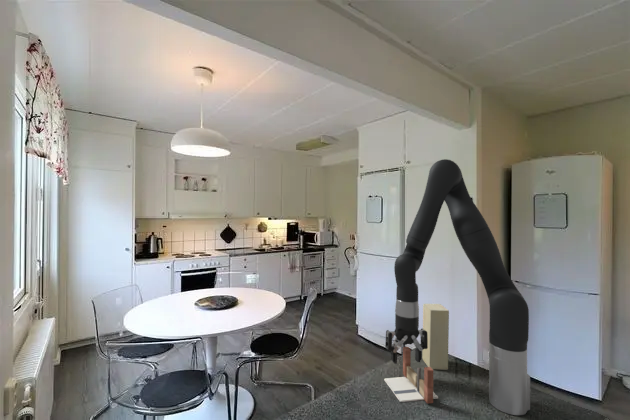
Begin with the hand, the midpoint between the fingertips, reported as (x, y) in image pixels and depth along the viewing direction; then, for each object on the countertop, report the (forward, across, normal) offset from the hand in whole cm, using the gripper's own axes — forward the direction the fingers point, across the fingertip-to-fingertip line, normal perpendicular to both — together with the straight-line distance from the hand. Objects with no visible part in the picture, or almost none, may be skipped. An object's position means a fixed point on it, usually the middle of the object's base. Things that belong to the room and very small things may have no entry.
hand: (406, 361), depth 101 cm
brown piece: (+5, 0, -11) cm, 12 cm away
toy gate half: (+4, 0, -3) cm, 5 cm away
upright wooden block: (+5, +15, +7) cm, 18 cm away
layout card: (+5, -2, -6) cm, 8 cm away
